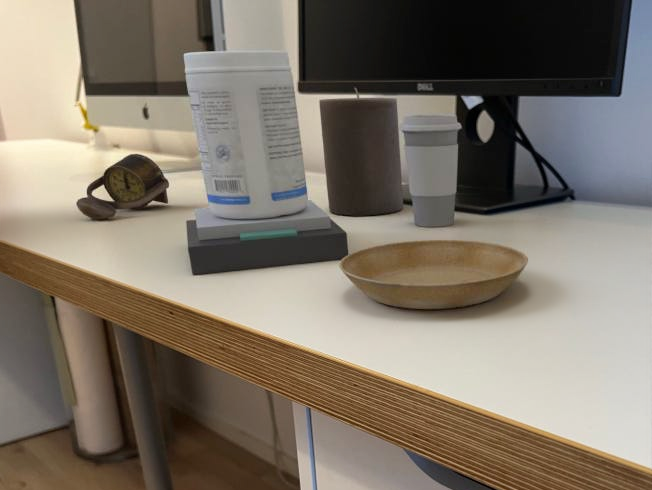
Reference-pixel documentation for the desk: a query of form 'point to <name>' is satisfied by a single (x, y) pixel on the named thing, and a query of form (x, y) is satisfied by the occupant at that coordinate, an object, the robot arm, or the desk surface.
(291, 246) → the scale
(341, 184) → the pillar candle
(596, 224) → the desk surface
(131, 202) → the antique desk clock
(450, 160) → the cup
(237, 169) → the supplement tub
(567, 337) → the desk surface
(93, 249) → the desk surface
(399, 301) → the plant saucer
